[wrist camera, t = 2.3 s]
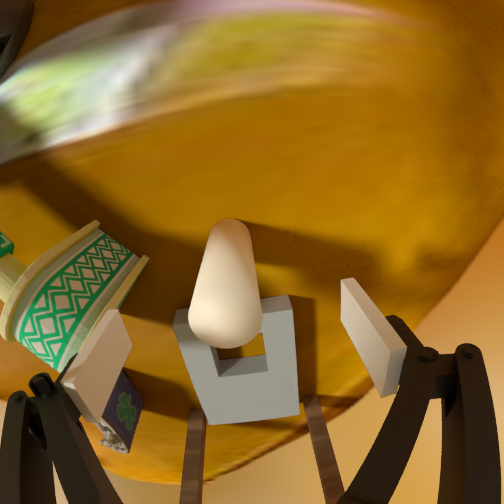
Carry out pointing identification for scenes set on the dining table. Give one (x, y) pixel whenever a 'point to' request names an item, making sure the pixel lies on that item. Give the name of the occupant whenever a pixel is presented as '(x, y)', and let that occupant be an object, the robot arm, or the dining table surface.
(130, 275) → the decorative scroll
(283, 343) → the socket block
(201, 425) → the curved red bench
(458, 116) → the dining table surface
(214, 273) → the peg
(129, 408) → the flask
